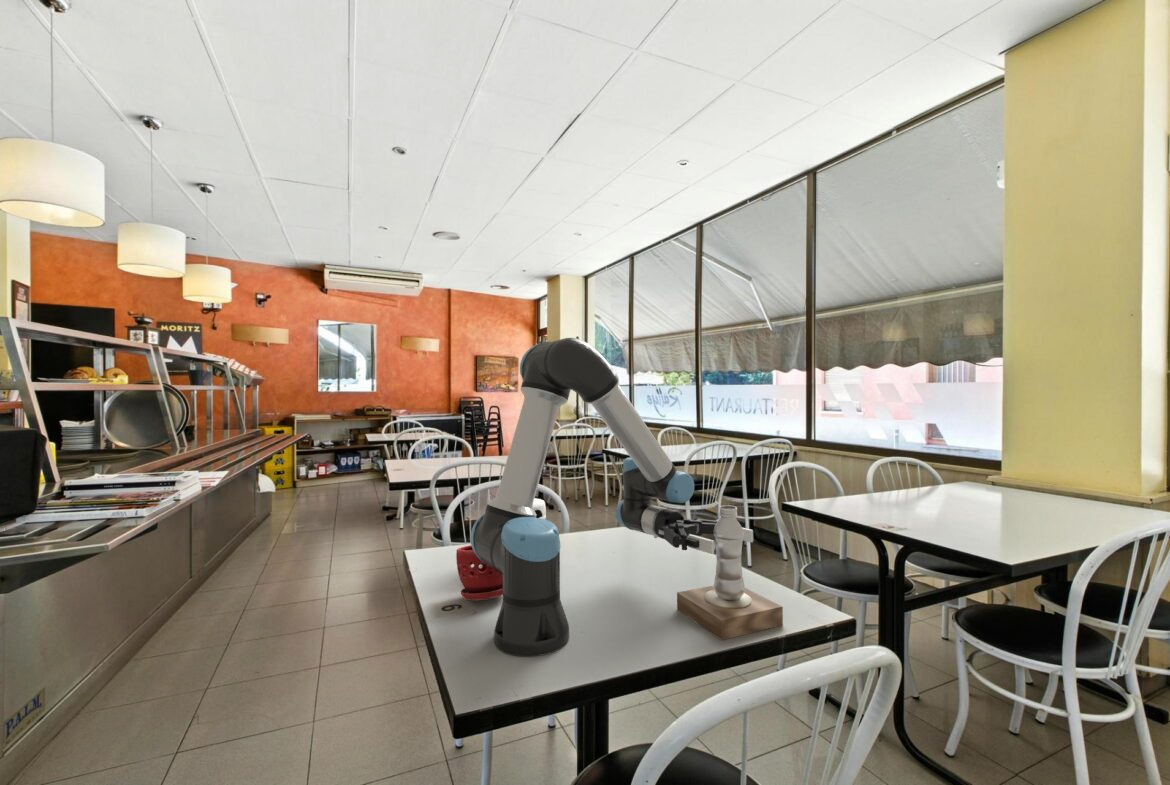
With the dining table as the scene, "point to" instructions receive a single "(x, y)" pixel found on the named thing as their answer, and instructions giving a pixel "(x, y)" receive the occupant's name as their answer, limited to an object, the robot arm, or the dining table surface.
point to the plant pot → (477, 576)
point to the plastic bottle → (728, 555)
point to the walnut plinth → (729, 612)
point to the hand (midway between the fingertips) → (733, 541)
